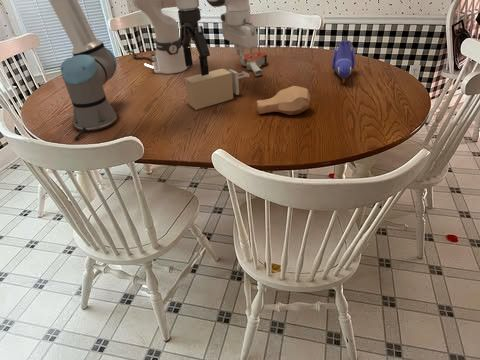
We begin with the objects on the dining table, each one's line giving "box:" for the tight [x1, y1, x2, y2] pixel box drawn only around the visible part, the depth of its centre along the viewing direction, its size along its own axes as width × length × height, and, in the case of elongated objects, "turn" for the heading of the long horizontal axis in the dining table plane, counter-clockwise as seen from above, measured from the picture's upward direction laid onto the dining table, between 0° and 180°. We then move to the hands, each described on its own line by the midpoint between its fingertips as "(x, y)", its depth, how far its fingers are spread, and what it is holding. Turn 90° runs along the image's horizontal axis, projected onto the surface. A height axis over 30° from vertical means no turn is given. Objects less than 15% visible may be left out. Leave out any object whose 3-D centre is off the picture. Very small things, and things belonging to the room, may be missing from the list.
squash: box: [255, 85, 312, 116], centre depth 130 cm, size 11×20×9 cm, turn 92°
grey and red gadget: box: [239, 51, 268, 77], centre depth 171 cm, size 18×5×20 cm
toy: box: [331, 39, 356, 84], centre depth 153 cm, size 10×17×25 cm
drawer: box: [228, 68, 251, 96], centre depth 143 cm, size 22×5×9 cm, turn 121°
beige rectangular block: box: [184, 68, 234, 111], centre depth 140 cm, size 17×7×11 cm, turn 121°
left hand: (197, 70), depth 133 cm, fingers open, 13 cm apart
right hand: (240, 55), depth 140 cm, fingers closed
